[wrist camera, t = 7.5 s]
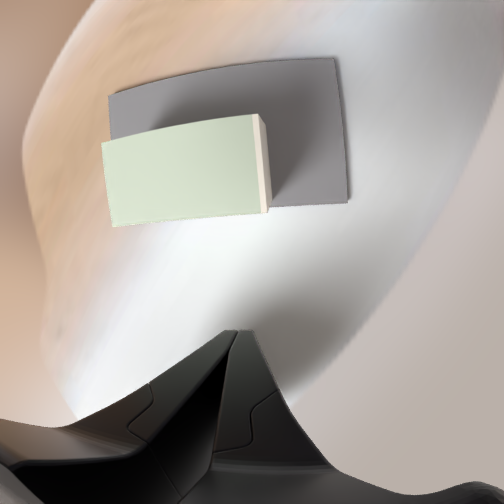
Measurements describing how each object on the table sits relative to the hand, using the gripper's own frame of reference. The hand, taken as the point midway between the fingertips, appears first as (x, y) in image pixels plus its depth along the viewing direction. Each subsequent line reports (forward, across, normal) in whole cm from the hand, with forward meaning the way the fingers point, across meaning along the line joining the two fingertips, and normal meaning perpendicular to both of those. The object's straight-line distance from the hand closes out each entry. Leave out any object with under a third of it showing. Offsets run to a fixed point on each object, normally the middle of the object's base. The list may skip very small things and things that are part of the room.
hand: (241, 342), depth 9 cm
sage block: (+10, 0, -5) cm, 11 cm away
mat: (+13, +3, -7) cm, 15 cm away
